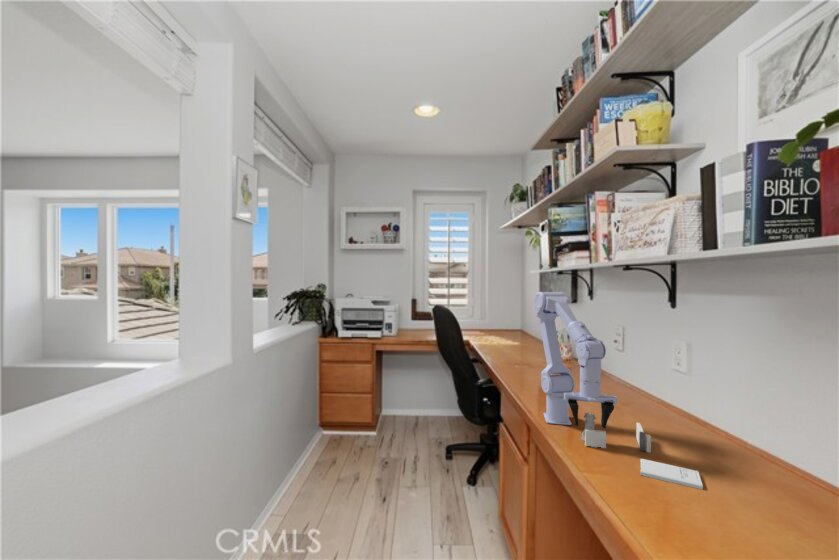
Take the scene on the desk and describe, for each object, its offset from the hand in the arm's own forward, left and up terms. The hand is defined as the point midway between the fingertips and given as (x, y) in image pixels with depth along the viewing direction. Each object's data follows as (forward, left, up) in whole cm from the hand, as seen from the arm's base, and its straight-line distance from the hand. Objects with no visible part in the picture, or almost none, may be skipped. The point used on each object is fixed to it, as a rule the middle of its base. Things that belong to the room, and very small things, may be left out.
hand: (589, 425), depth 114 cm
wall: (+4, +6, -4) cm, 9 cm away
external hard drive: (+17, +15, -5) cm, 23 cm away
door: (0, +14, -4) cm, 14 cm away
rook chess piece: (0, 0, -5) cm, 5 cm away
